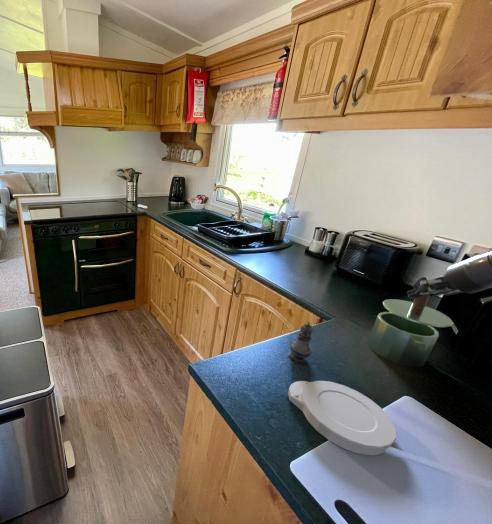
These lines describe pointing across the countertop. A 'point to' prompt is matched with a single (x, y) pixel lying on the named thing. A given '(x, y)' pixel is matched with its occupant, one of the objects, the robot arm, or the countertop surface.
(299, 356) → the grey chess piece
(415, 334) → the pot
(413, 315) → the pot lid
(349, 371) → the countertop surface
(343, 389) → the lid
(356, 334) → the countertop surface
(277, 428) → the countertop surface
